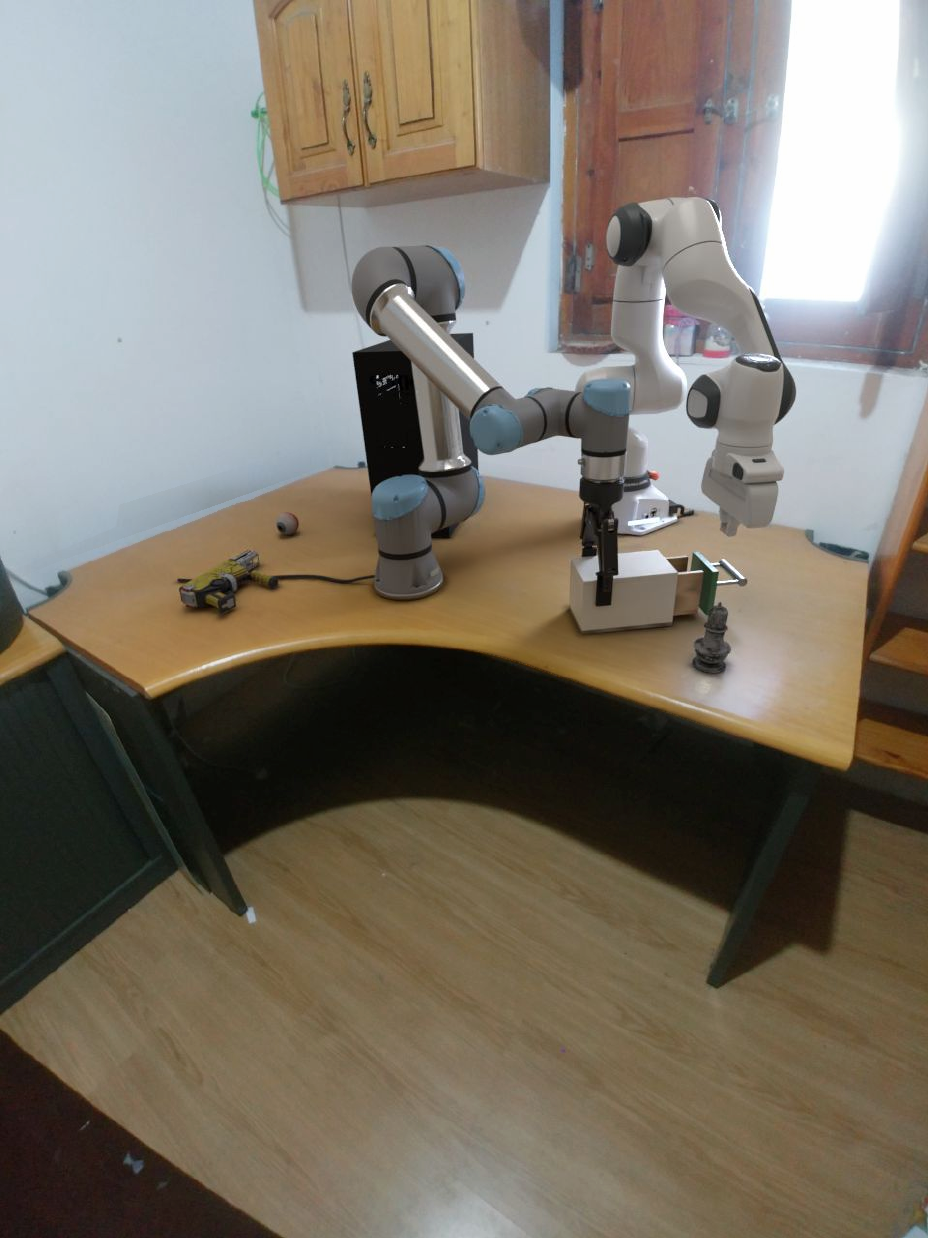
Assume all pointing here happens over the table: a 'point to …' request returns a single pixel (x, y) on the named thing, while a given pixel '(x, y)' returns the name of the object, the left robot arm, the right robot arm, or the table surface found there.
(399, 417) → the black box
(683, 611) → the drawer
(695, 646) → the dark grey chess piece
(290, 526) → the eyeball
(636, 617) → the cabinet
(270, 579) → the toy gun
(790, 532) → the table surface
